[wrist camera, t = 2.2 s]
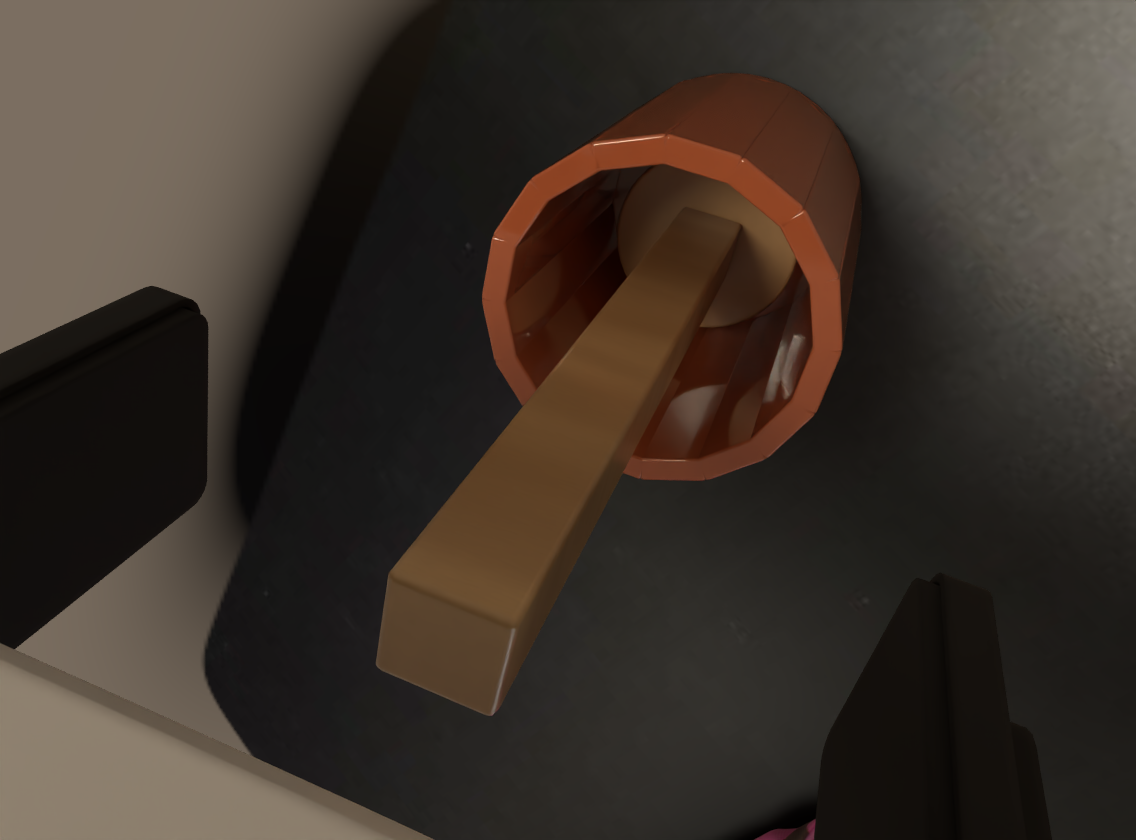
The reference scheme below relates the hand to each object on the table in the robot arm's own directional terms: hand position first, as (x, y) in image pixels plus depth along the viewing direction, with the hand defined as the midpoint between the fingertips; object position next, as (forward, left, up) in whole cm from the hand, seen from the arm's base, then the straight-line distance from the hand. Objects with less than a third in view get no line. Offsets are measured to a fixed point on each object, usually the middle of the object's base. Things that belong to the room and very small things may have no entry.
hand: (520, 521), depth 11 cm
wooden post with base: (0, 0, -14) cm, 14 cm away
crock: (0, 0, -14) cm, 14 cm away
